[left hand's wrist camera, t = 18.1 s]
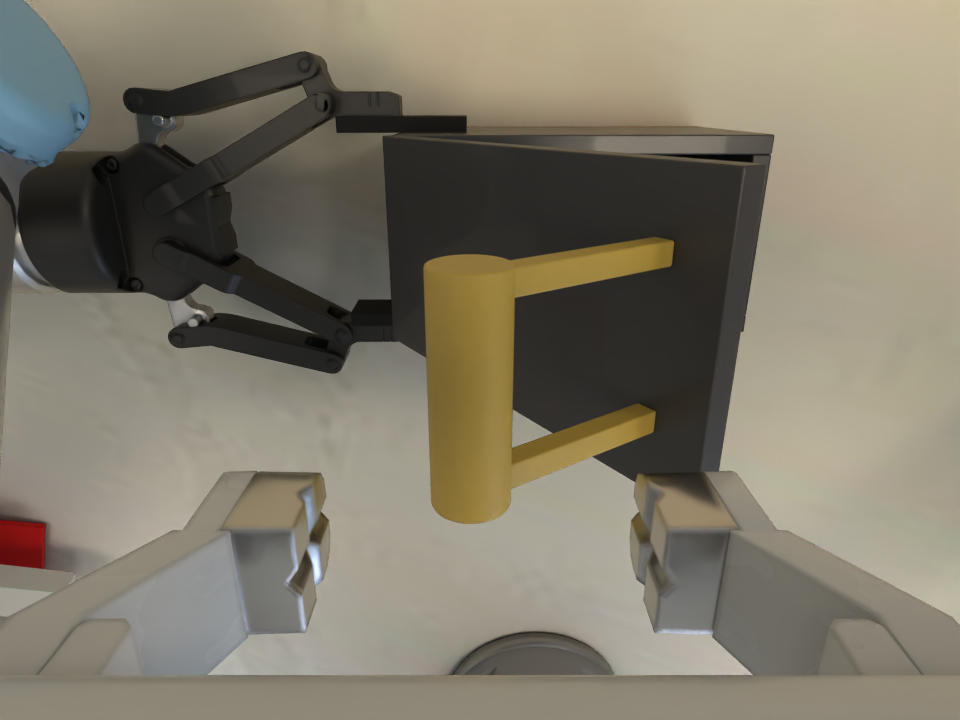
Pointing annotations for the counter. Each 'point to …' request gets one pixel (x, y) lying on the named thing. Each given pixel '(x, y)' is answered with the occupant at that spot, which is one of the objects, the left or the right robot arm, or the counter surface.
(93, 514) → the counter surface
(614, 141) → the chest
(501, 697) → the left robot arm
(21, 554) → the toy
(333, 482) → the counter surface
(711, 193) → the lid
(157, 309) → the counter surface
